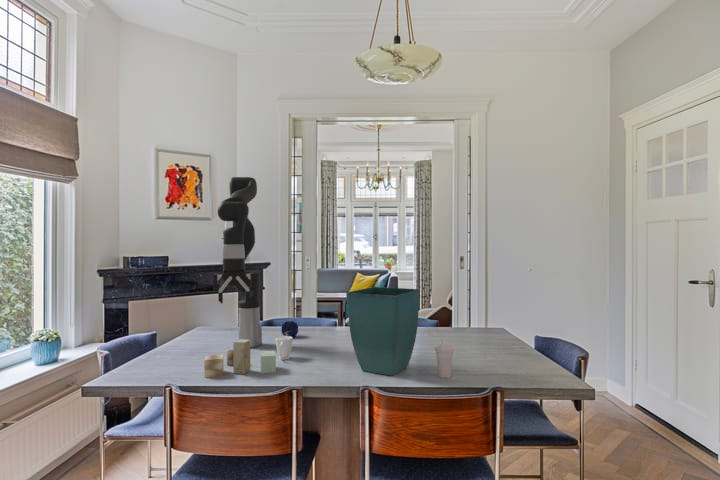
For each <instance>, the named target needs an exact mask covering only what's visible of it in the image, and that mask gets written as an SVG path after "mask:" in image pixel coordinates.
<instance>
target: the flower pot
mask: <svg viewBox="0 0 720 480" xmlns="http://www.w3.org/2000/svg"><path fill="white" fill-rule="evenodd" d="M420 292H421V290H420V289H418V288H405V287H404V288H401V287H385V286H384V287H383V286H373V287H372V286H371V287H367V288H362V289H357V290H352V291H347V292H345V294H346V304H347V313H348V314H347V315H348V325H349V333H350V339H351V342H352V343H351V344H352V346H353V350H354V353H355V356H356V359H357V362H358V364H359V367H360V369H361V371H362V372H368V373H374V374H378V375H386V376H394V375H396V374H398V373H400V372H401V371H402V370H404V369H406V368H407V367H408V366H409V363H410V360H411V357H412V354H413V350H414V346H415V343H416V339H417V333H418V332H417V331H418V327H419V325H418V324H419V308H420V294H421V293H420Z"/></svg>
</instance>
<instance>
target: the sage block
mask: <svg viewBox="0 0 720 480" xmlns="http://www.w3.org/2000/svg"><path fill="white" fill-rule="evenodd" d="M259 354H260V355H259V359H260V360H259V363H260V374H267V373H269V374H270V373H271V374H272V373H277V372H276V371H277V370H276V369H277V367H276V365H277V364H276V363H277V361H276V359H277V357H276V353H275V350H267V351H265V350H264V351H260V352H259Z"/></svg>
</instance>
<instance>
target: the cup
mask: <svg viewBox="0 0 720 480" xmlns="http://www.w3.org/2000/svg"><path fill="white" fill-rule="evenodd" d="M293 339H294V337H291V336H284V335H282V336H276V337H275V345H276V351H277V354H278V356H279V357H278V359H279V360H281V361H285V360H288V359H291V358H290V355H291V352H292V347H293Z"/></svg>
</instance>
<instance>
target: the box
mask: <svg viewBox="0 0 720 480" xmlns="http://www.w3.org/2000/svg"><path fill="white" fill-rule="evenodd" d="M232 343H233V349H232V350H233V366H232V367H233V368H232V369H233V374H239V375H241V374H242V375H244V374H247V373H248V372H249V371H251V348H250V340H244V339H240V340H239V339H238V340H235V341H234V342H232Z"/></svg>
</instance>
